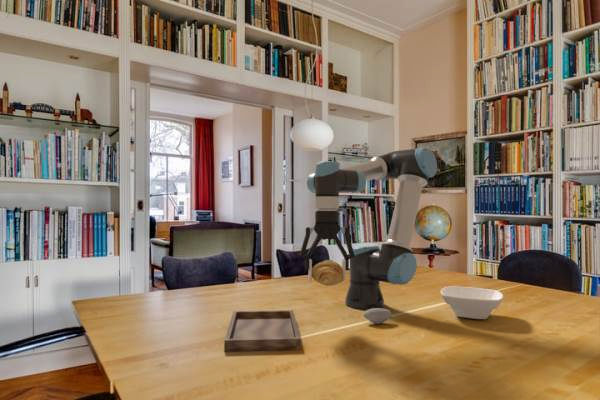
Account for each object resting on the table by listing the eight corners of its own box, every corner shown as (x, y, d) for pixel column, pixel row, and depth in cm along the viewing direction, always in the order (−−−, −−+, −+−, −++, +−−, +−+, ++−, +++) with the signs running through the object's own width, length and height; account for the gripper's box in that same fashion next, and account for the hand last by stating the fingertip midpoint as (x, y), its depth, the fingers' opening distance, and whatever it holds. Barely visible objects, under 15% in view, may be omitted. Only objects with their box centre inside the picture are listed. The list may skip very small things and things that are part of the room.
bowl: (502, 313, 146) (502, 289, 146) (505, 328, 127) (505, 301, 127) (443, 306, 155) (443, 284, 155) (437, 320, 136) (437, 295, 136)
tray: (293, 318, 136) (293, 310, 136) (300, 349, 107) (300, 338, 107) (233, 320, 134) (233, 311, 134) (224, 351, 105) (224, 340, 105)
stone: (388, 320, 135) (388, 305, 135) (394, 325, 130) (394, 309, 130) (360, 321, 134) (360, 306, 134) (366, 326, 128) (366, 310, 128)
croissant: (338, 300, 115) (351, 276, 115) (308, 283, 115) (321, 259, 115) (333, 284, 136) (344, 263, 136) (308, 270, 136) (319, 249, 136)
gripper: (359, 210, 130) (359, 277, 130) (290, 210, 129) (290, 278, 128) (364, 210, 123) (364, 281, 123) (292, 210, 121) (292, 282, 121)
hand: (326, 280), depth 125 cm, fingers closed on croissant, 10 cm apart
